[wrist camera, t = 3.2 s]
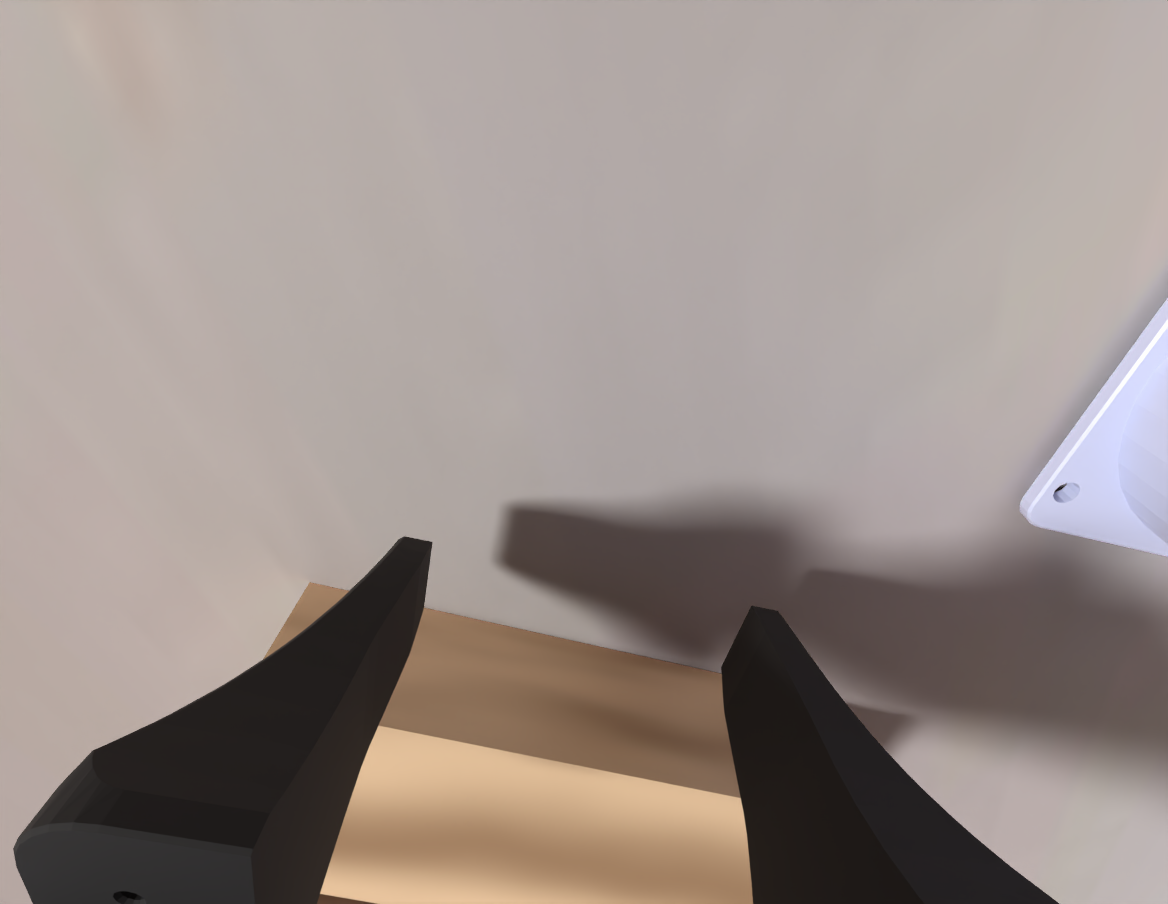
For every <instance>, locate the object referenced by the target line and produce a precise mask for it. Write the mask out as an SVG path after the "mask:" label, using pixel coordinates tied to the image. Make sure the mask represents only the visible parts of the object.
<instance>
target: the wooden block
mask: <svg viewBox="0 0 1168 904" xmlns="http://www.w3.org/2000/svg"><path fill="white" fill-rule="evenodd" d="M348 592H349V591H346V590H342V589H337V588H333V587H328V586H324V585H319V584H315V583H309V584H308V586H307V588H306V589H305V591H304V593H303V594H302V596H301V598H300V599H299V601H298V603H297V604H296V606H295V608H294V609H293V611H292V613H291V614H290V616H289V617H288V619H287V621H286V622H285V624H284V626H283V627H282V629H281V631H280V632H279V634H278V636H277V637H276V639H275V641H274V642H273V644H272V646H271V647H270V649H269V651H268V652H267V654H266V655H265V657H264V659H265V658H266V657H268V656H269V655H271V654H272V653H274V652H275V651H276V650H278V649H279V648H281V647H282V646H283V645H285V644H286V643H288V642H289V641H290V640H292V639H293V638H294V637H296V636H297V635H298V634H299V633H301V632H302V631H303V630H305V629H306V628H307V627H308V626H310V625H311V624H312V623H313V622H314V621H316V620H317V619H318V618H319V617H320V616H322V615H323V614H324V613H325V612H326V611H327V610H329V609H330V608H331V607H332V606H333V605H335V604H336V603H337V602H338V601H339V600H340V599H341V598H342V597H344V596H345V595H346V594H347V593H348ZM320 894H324V895H330V896H336V897H342V898H348V899H353V900H359V901H365V902H371V903H377V904H753V896H752V883H751V872H750V862H749V851H748V841H747V832H746V825H745V819H744V812H743V807H742V802H741V797H740V792H739V787H738V782H737V777H736V772H735V766H734V761H733V756H732V751H731V746H730V741H729V735H728V730H727V725H726V719H725V714H724V704H723V690H722V674H720V673H716V672H711V671H707V670H702V669H698V668H693V667H689V666H684V665H680V664H675V663H671V662H666V661H662V660H657V659H653V658H648V657H644V656H639V655H635V654H630V653H626V652H621V651H617V650H612V649H608V648H603V647H599V646H594V645H590V644H585V643H581V642H576V641H572V640H567V639H563V638H558V637H554V636H549V635H545V634H540V633H536V632H531V631H527V630H522V629H518V628H513V627H509V626H504V625H500V624H495V623H491V622H486V621H481V620H477V619H472V618H468V617H463V616H459V615H454V614H450V613H445V612H441V611H436V610H432V609H427V608H424V610H423V613H422V616H421V620H420V623H419V626H418V630H417V633H416V636H415V639H414V642H413V645H412V649H411V652H410V654H409V657H408V659H407V662H406V664H405V666H404V668H403V671H402V673H401V675H400V678H399V680H398V682H397V685H396V687H395V689H394V691H393V694H392V696H391V698H390V701H389V703H388V705H387V707H386V710H385V712H384V714H383V717H382V719H381V721H380V723H379V726H378V728H377V730H376V733H375V735H374V737H373V739H372V742H371V744H370V746H369V749H368V751H367V754H366V756H365V759H364V761H363V764H362V767H361V769H360V772H359V775H358V778H357V781H356V784H355V787H354V790H353V793H352V796H351V799H350V802H349V805H348V808H347V811H346V814H345V817H344V820H343V824H342V827H341V830H340V833H339V836H338V839H337V842H336V845H335V848H334V851H333V854H332V858H331V861H330V864H329V867H328V870H327V873H326V876H325V880H324V883H323V886H322V889H321V892H320Z"/></svg>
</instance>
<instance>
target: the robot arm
mask: <svg viewBox="0 0 1168 904" xmlns="http://www.w3.org/2000/svg"><path fill="white" fill-rule="evenodd" d="M1065 483H1067V485H1066V486H1065V487H1064V488H1063V489H1062V490H1059V491H1057V492H1055V490H1056V489H1057V488H1058V487H1059V486H1060V485H1063V484H1065ZM1020 512H1021V513H1022V515H1023V516H1024V517H1025V518H1026V519H1027V520H1028V521H1029V522H1030V523H1031V524H1032V525H1034V526H1036V527H1039V528H1044V529H1048V530H1052V531H1057V532H1061V533H1065V534H1070V535H1074V536H1078V537H1083V538H1087V539H1091V540H1096V541H1100V542H1104V543H1109V544H1113V545H1117V546H1122V547H1126V548H1130V549H1135V550H1139V551H1143V552H1148V553H1152V554H1157V555H1161V556H1165V557H1168V298H1167V299H1166V301H1165V302H1164V303H1163V305H1162V306H1161V308H1160V309H1159V310H1158V312H1157V313H1156V315H1155V316H1154V317H1153V319H1152V320H1151V321H1150V323H1149V324H1148V326H1147V327H1146V328H1145V330H1144V331H1143V332H1142V334H1141V335H1140V337H1139V338H1138V339H1137V341H1136V342H1135V343H1134V345H1133V346H1132V348H1131V349H1130V350H1129V352H1128V353H1127V354H1126V356H1125V357H1124V359H1123V360H1122V361H1121V363H1120V364H1119V365H1118V367H1117V368H1116V370H1115V371H1114V372H1113V374H1112V375H1111V377H1110V378H1109V379H1108V381H1107V382H1106V383H1105V385H1104V386H1103V388H1102V389H1101V390H1100V392H1099V393H1098V394H1097V396H1096V397H1095V399H1094V400H1093V401H1092V403H1091V404H1090V405H1089V407H1088V408H1087V410H1086V411H1085V412H1084V414H1083V415H1082V416H1081V418H1080V419H1079V421H1078V422H1077V423H1076V425H1075V426H1074V427H1073V429H1072V430H1071V432H1070V433H1069V434H1068V436H1067V437H1066V439H1065V440H1064V441H1063V443H1062V444H1061V445H1060V447H1059V448H1058V450H1057V451H1056V452H1055V454H1054V455H1053V456H1052V458H1051V459H1050V461H1049V462H1048V463H1047V465H1046V466H1045V467H1044V469H1043V470H1042V472H1041V473H1040V474H1039V476H1038V477H1037V478H1036V480H1035V481H1034V483H1033V484H1032V485H1031V487H1030V488H1029V489H1028V491H1027V492H1026V494H1025V495H1024V496H1023V498H1022V500H1021V502H1020ZM431 548H432V542H429V541H424V540H419V539H414V538H409V537H402V538H400V539H399V540H398V541H397V542H396V543H395V544H394V546H393V547H392V548H391V549H390V550H389V551H388V553H387V554H386V555H385V556H384V557H383V558H382V559H381V560H380V561H379V562H378V563H377V564H376V565H375V566H374V568H373V569H372V570H371V571H370V572H369V573H368V574H367V575H366V576H365V577H364V578H363V579H362V580H360V581H359V582H358V583H357V584H356V585H355V586H354V587H353V588H352V589H351V590H350V591H349V592H348V593H347V594H346V595H345V596H344V597H342V598H341V599H340V600H339V601H338V602H337V603H336V604H335V605H333V606H332V607H331V608H330V609H329V610H327V611H326V612H325V613H324V614H323V615H322V616H320V617H319V618H318V619H317V620H316V621H314V622H313V623H312V624H311V625H310V626H308V627H307V628H306V629H305V630H303V631H302V632H301V633H299V634H298V635H297V636H296V637H294V638H293V639H292V640H290V641H289V642H288V643H286V644H285V645H283V646H282V647H281V648H279V649H278V650H276V651H275V652H274V653H272V654H271V655H269V656H268V657H266V658H265V659H263V660H262V661H260V662H259V663H257V664H256V665H254V666H253V667H251V668H250V669H248V670H246V671H245V672H243V673H242V674H240V675H239V676H237V677H236V678H234V679H232V680H231V681H229V682H227V683H226V684H224V685H222V686H221V687H219V688H217V689H216V690H214V691H212V692H210V693H208V694H206V695H205V696H203V697H201V698H199V699H197V700H196V701H194V702H192V703H190V704H188V705H186V706H185V707H183V708H181V709H179V710H177V711H176V712H174V713H172V714H170V715H168V716H166V717H164V718H162V719H160V720H158V721H156V722H154V723H152V724H150V725H148V726H145V727H143V728H141V729H139V730H137V731H135V732H133V733H131V734H128V735H126V736H124V737H122V738H120V739H118V740H116V741H113V742H111V743H109V744H107V745H105V746H102V747H100V748H98V749H95V750H93V751H92V752H91V753H90V754H89V755H88V756H87V757H86V758H85V759H84V760H83V762H82V763H81V764H80V765H79V766H78V767H77V768H76V769H75V770H74V771H73V772H72V773H71V774H70V775H69V776H68V777H67V778H66V779H65V780H64V781H63V783H62V784H61V785H60V786H59V787H58V788H57V789H56V790H55V792H54V793H53V794H52V796H51V797H50V798H49V799H48V801H47V802H46V803H45V804H44V806H43V807H42V808H41V809H40V811H39V812H38V813H37V815H36V816H35V817H34V818H33V820H32V821H31V822H30V823H29V825H28V826H27V827H26V829H25V830H24V831H23V832H22V834H21V835H20V836H19V837H18V839H17V842H16V844H15V846H14V848H13V850H14V855H15V861H16V866H17V869H18V871H19V873H20V876H21V878H22V880H23V882H24V885H25V887H26V889H27V891H28V893H29V896H30V898H31V900H32V902H33V904H317V902H318V899H319V896H320V892H321V889H322V886H323V883H324V880H325V876H326V873H327V870H328V867H329V864H330V861H331V858H332V854H333V851H334V848H335V845H336V842H337V839H338V836H339V833H340V830H341V827H342V824H343V820H344V817H345V814H346V811H347V808H348V805H349V802H350V799H351V796H352V793H353V790H354V787H355V784H356V781H357V778H358V775H359V772H360V769H361V767H362V764H363V761H364V759H365V756H366V754H367V751H368V749H369V746H370V744H371V742H372V739H373V737H374V735H375V733H376V730H377V728H378V726H379V723H380V721H381V719H382V717H383V714H384V712H385V710H386V707H387V705H388V703H389V701H390V698H391V696H392V694H393V691H394V689H395V687H396V685H397V682H398V680H399V678H400V675H401V673H402V671H403V668H404V666H405V664H406V662H407V659H408V657H409V654H410V652H411V649H412V645H413V642H414V639H415V636H416V633H417V630H418V626H419V623H420V620H421V616H422V613H423V610H424V602H425V594H426V587H427V579H428V571H429V564H430V556H431ZM721 669H722V690H723V704H724V714H725V719H726V725H727V730H728V735H729V741H730V746H731V751H732V756H733V761H734V766H735V772H736V777H737V782H738V787H739V792H740V797H741V802H742V807H743V812H744V819H745V825H746V832H747V841H748V851H749V862H750V872H751V883H752V896H753V904H1059V903H1058V902H1056V901H1055V900H1054V899H1052V898H1051V897H1050V896H1049V895H1047V894H1046V893H1045V892H1043V891H1042V890H1041V889H1039V888H1038V887H1037V886H1035V885H1034V884H1033V883H1031V882H1030V881H1029V880H1027V879H1026V878H1025V877H1023V876H1022V875H1021V874H1019V873H1018V872H1017V871H1015V870H1014V869H1013V868H1012V867H1010V866H1009V865H1008V864H1007V863H1005V862H1004V861H1003V860H1002V859H1001V858H999V857H998V856H997V855H996V854H995V853H993V852H992V851H991V850H990V849H989V848H987V847H986V846H985V845H984V844H983V843H981V842H980V841H979V840H978V839H977V838H975V837H974V836H973V835H972V834H971V833H970V832H968V831H967V830H966V829H965V828H964V827H963V826H962V825H961V824H959V823H958V822H957V821H956V820H955V819H954V818H953V817H952V816H951V815H949V814H948V813H947V812H946V811H945V810H944V809H943V808H942V807H941V806H940V805H939V804H938V803H937V802H936V801H935V800H934V799H932V798H931V797H930V796H929V795H928V794H927V793H926V792H925V791H924V790H923V789H922V788H921V787H920V786H919V785H918V784H917V783H916V782H915V781H914V780H913V779H912V778H911V777H910V776H909V775H908V774H907V773H906V772H905V771H904V770H903V769H902V768H901V767H900V765H899V764H898V763H897V762H896V761H895V760H894V759H893V758H892V757H891V756H890V755H889V754H888V753H887V752H886V751H885V749H884V748H883V747H882V746H881V745H880V744H879V743H878V742H877V740H876V739H875V738H874V737H873V736H872V735H871V734H870V732H869V731H868V730H867V729H866V728H865V726H864V725H863V724H862V723H861V722H860V720H859V719H858V718H857V717H856V716H855V714H854V713H853V712H852V711H851V709H850V708H849V707H848V706H847V704H846V703H845V702H844V701H843V699H842V698H841V697H840V695H839V694H838V693H837V692H836V690H835V689H834V688H833V686H832V685H831V684H830V682H829V681H828V680H827V678H826V677H825V676H824V674H823V673H822V672H821V670H820V669H819V667H818V666H817V665H816V663H815V662H814V661H813V659H812V658H811V656H810V655H809V654H808V652H807V651H806V649H805V648H804V647H803V645H802V644H801V642H800V641H799V640H798V638H797V637H796V635H795V634H794V633H793V631H792V630H791V628H790V627H789V626H788V624H787V623H786V621H785V620H784V619H783V617H782V616H781V615H780V613H779V612H778V611H775V610H770V609H765V608H760V607H755V606H751V608H750V610H749V612H748V614H747V616H746V618H745V620H744V622H743V624H742V626H741V628H740V630H739V632H738V634H737V637H736V639H735V641H734V643H733V645H732V647H731V649H730V651H729V653H728V655H727V657H726V659H725V661H724V663H723V665H722V667H721Z"/></svg>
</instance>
